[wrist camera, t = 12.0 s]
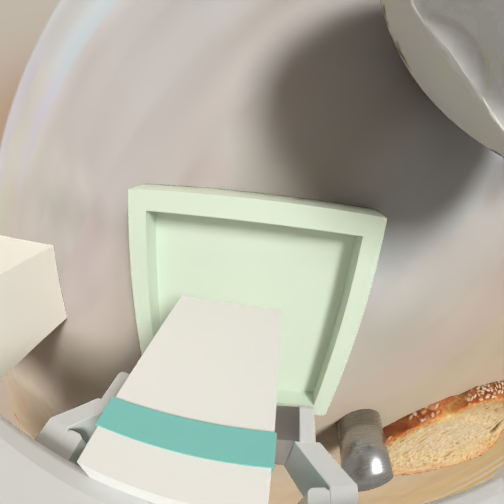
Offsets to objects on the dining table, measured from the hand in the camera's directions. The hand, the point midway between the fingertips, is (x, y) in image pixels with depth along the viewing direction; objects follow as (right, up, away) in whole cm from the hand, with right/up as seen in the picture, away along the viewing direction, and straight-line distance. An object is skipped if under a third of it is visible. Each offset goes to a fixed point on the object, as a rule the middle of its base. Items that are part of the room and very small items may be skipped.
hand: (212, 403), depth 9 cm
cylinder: (+10, -8, +10) cm, 16 cm away
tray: (+1, +2, +7) cm, 7 cm away
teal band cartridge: (0, +1, +3) cm, 3 cm away
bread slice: (+22, -13, +10) cm, 27 cm away
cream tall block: (-17, +4, +9) cm, 19 cm away
